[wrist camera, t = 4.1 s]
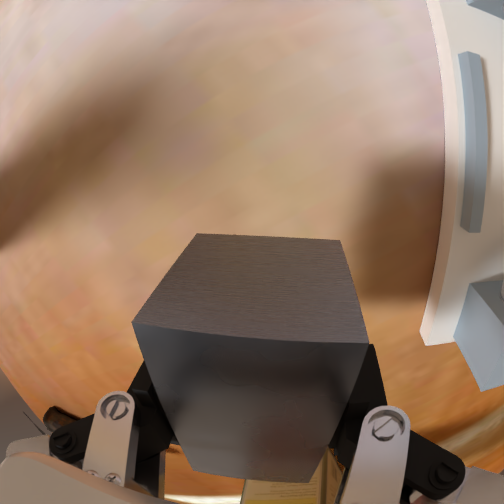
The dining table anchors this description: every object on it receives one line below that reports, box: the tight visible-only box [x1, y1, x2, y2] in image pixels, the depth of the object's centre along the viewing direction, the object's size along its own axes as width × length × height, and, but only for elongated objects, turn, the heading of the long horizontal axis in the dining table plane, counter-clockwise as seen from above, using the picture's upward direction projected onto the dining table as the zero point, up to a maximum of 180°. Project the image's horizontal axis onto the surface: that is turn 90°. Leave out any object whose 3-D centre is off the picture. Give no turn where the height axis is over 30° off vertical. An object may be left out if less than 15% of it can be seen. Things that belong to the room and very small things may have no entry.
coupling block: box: [132, 233, 369, 483], centre depth 9 cm, size 8×4×4 cm, turn 1°
